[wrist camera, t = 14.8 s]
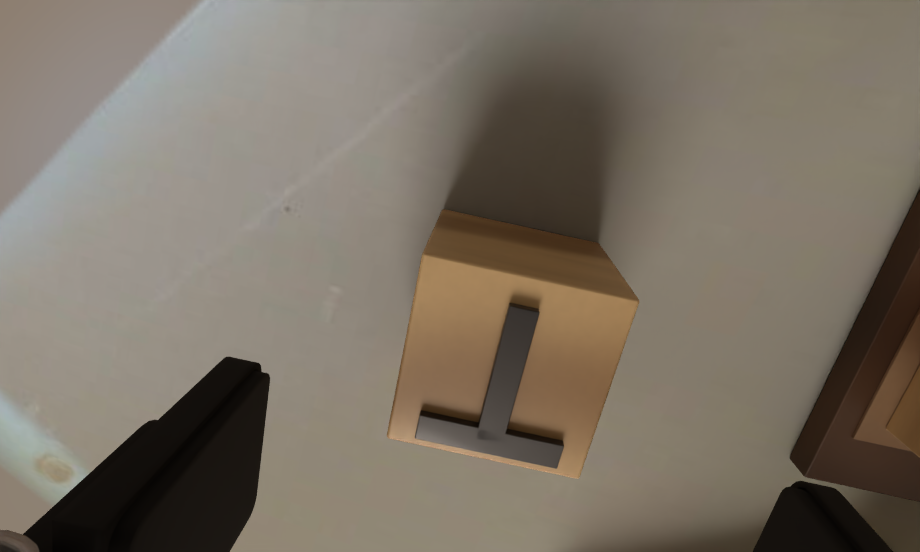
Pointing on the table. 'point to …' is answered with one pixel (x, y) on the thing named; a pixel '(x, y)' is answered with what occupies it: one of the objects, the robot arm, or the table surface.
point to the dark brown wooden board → (872, 384)
